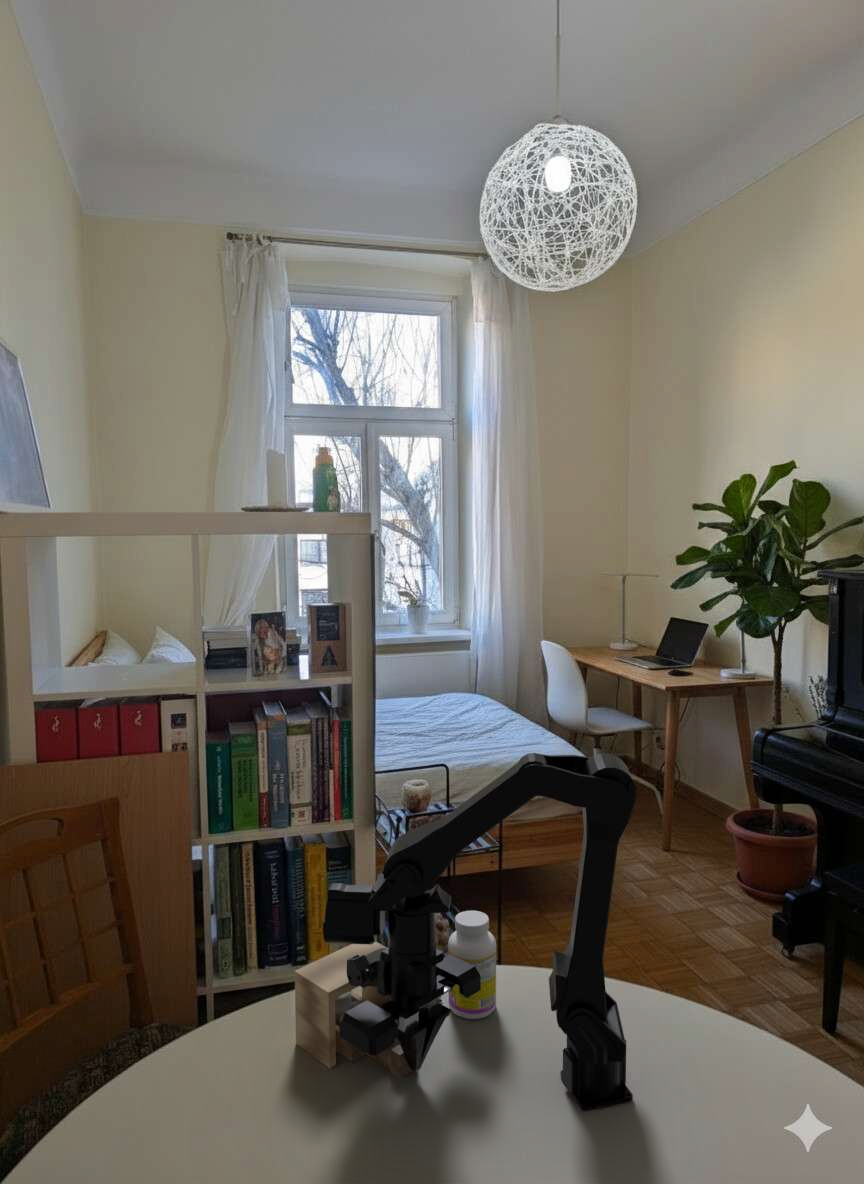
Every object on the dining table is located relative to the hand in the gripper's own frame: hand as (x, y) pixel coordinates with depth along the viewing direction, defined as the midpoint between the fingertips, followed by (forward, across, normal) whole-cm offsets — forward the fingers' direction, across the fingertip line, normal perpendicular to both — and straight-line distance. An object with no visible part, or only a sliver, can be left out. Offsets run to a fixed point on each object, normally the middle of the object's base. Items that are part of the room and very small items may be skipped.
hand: (414, 1069), depth 96 cm
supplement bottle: (+1, -16, -5) cm, 16 cm away
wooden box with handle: (+1, 0, -9) cm, 9 cm away
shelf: (+1, 0, -12) cm, 12 cm away
